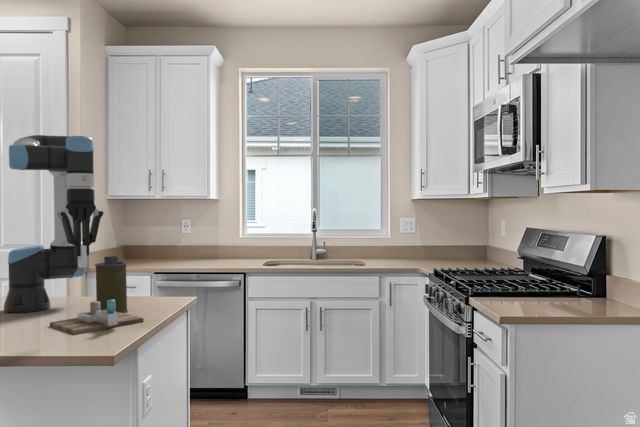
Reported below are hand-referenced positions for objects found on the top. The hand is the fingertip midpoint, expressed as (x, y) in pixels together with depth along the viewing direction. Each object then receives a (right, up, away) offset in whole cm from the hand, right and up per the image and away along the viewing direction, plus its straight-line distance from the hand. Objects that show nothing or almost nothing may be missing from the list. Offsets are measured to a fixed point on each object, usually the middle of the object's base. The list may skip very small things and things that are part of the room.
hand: (82, 267), depth 159 cm
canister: (-3, -19, +30) cm, 36 cm away
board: (0, -19, +11) cm, 22 cm away
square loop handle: (+3, -18, +7) cm, 19 cm away
